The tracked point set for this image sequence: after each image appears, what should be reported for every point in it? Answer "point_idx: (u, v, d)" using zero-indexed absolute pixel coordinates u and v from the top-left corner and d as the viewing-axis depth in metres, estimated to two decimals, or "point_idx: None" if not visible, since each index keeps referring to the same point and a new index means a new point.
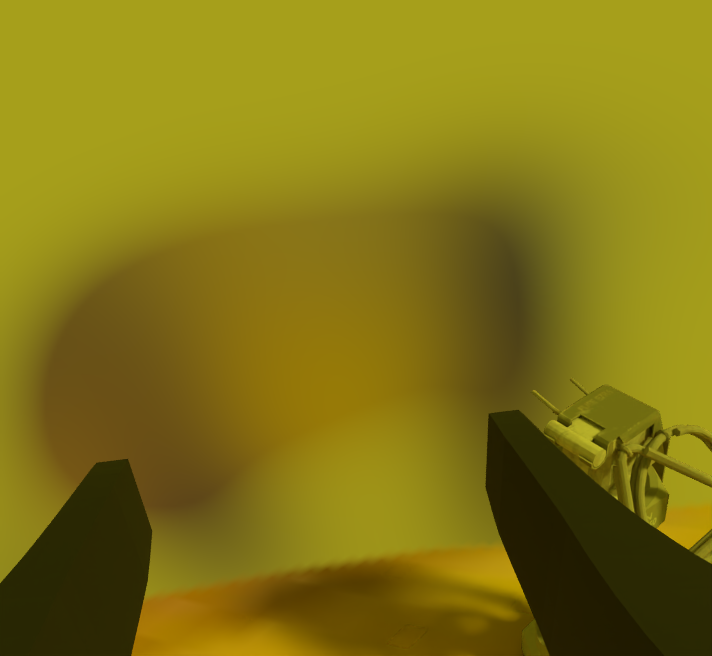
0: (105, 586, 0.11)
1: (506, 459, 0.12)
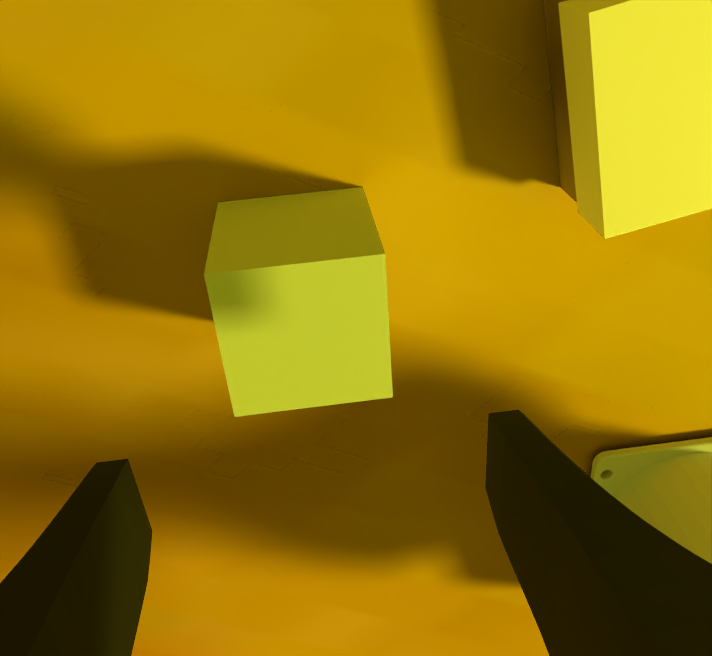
0: (106, 586, 0.11)
1: (506, 459, 0.12)
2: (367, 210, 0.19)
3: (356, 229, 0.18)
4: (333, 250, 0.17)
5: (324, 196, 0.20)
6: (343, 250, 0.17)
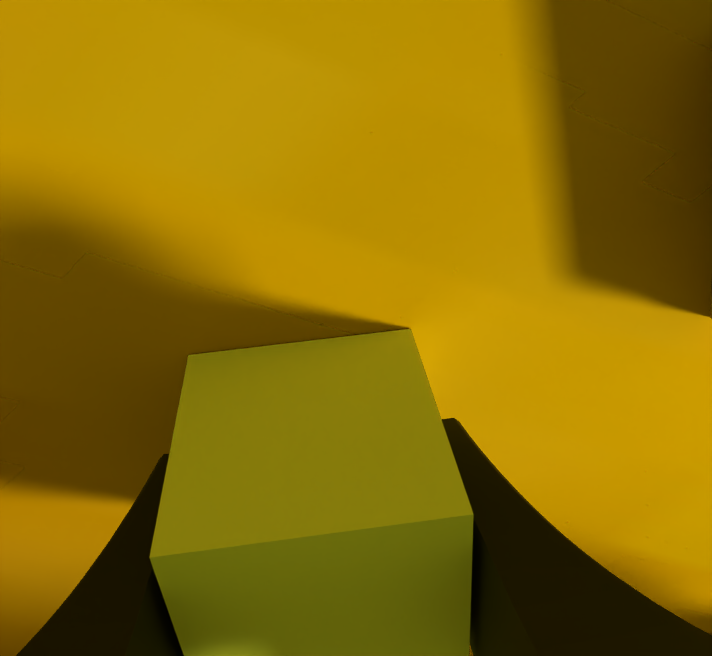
0: None
1: None
2: (426, 389, 0.12)
3: (413, 438, 0.11)
4: (379, 499, 0.10)
5: (353, 350, 0.13)
6: (397, 498, 0.10)
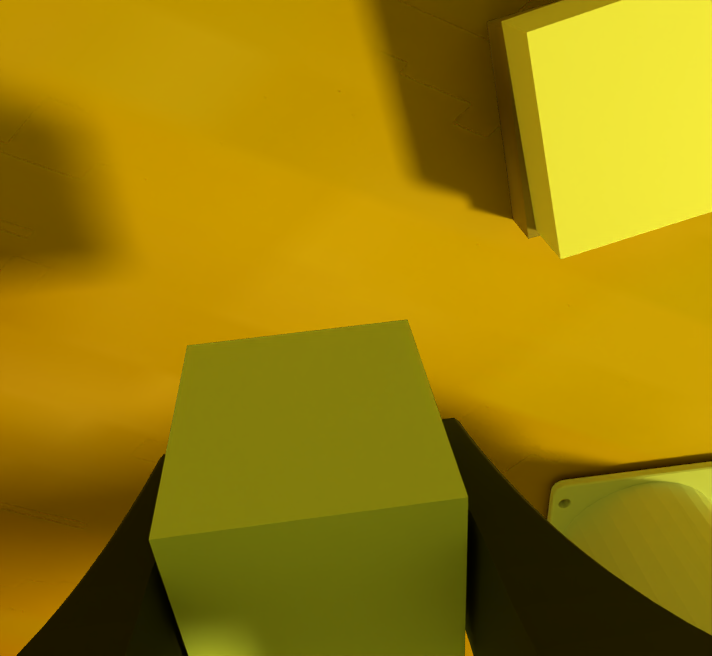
0: None
1: None
2: (422, 377, 0.12)
3: (409, 425, 0.11)
4: (375, 483, 0.10)
5: (350, 340, 0.13)
6: (393, 482, 0.10)
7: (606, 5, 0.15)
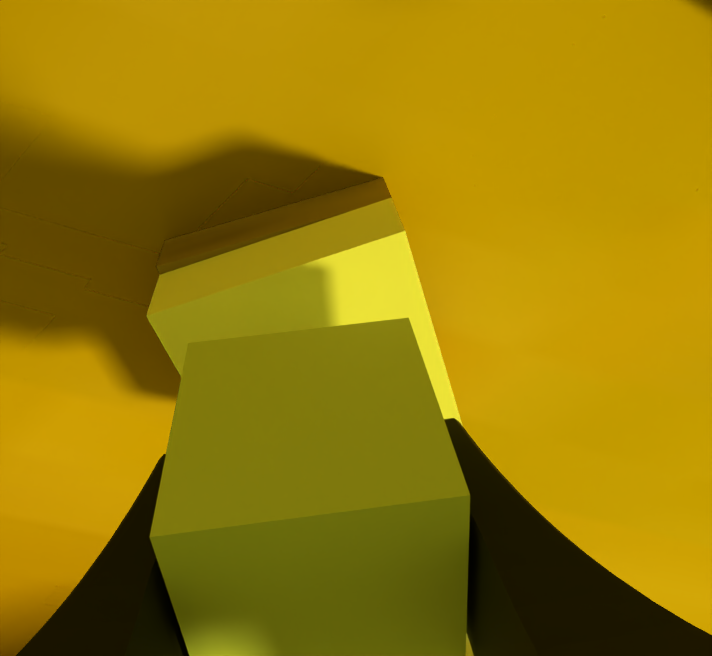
0: None
1: None
2: (423, 375, 0.12)
3: (411, 423, 0.11)
4: (377, 481, 0.10)
5: (352, 338, 0.13)
6: (394, 480, 0.10)
7: (224, 290, 0.15)
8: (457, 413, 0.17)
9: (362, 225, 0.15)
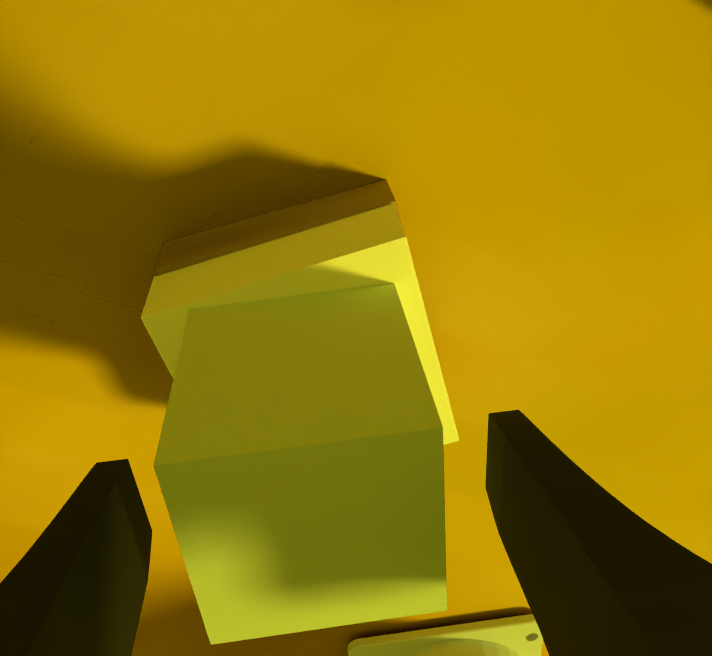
0: (106, 586, 0.11)
1: (506, 459, 0.12)
2: (406, 331, 0.13)
3: (392, 370, 0.12)
4: (359, 417, 0.11)
5: (341, 302, 0.14)
6: (375, 416, 0.11)
7: (221, 293, 0.14)
8: (453, 422, 0.17)
9: (362, 230, 0.15)
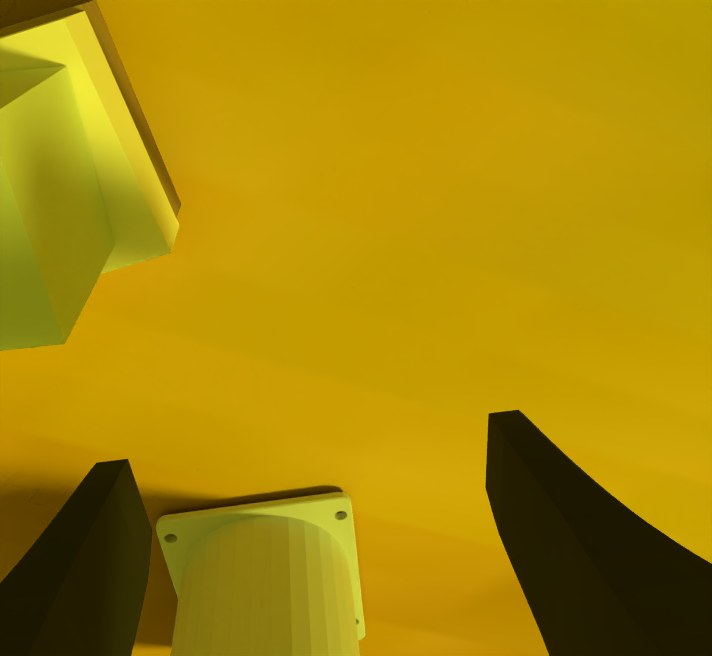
0: (106, 586, 0.11)
1: (506, 459, 0.12)
2: (36, 83, 0.14)
3: None
4: None
5: (4, 74, 0.15)
6: None
7: None
8: (160, 232, 0.18)
9: (40, 25, 0.16)
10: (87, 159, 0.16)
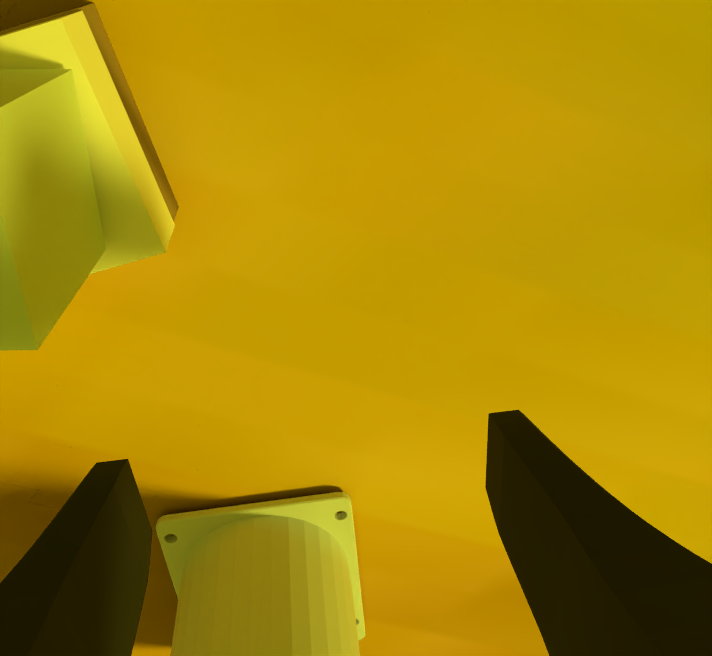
0: (106, 586, 0.11)
1: (506, 459, 0.12)
2: (36, 86, 0.14)
3: None
4: None
5: (7, 73, 0.15)
6: None
7: None
8: (155, 231, 0.18)
9: (38, 24, 0.16)
10: (84, 162, 0.16)
